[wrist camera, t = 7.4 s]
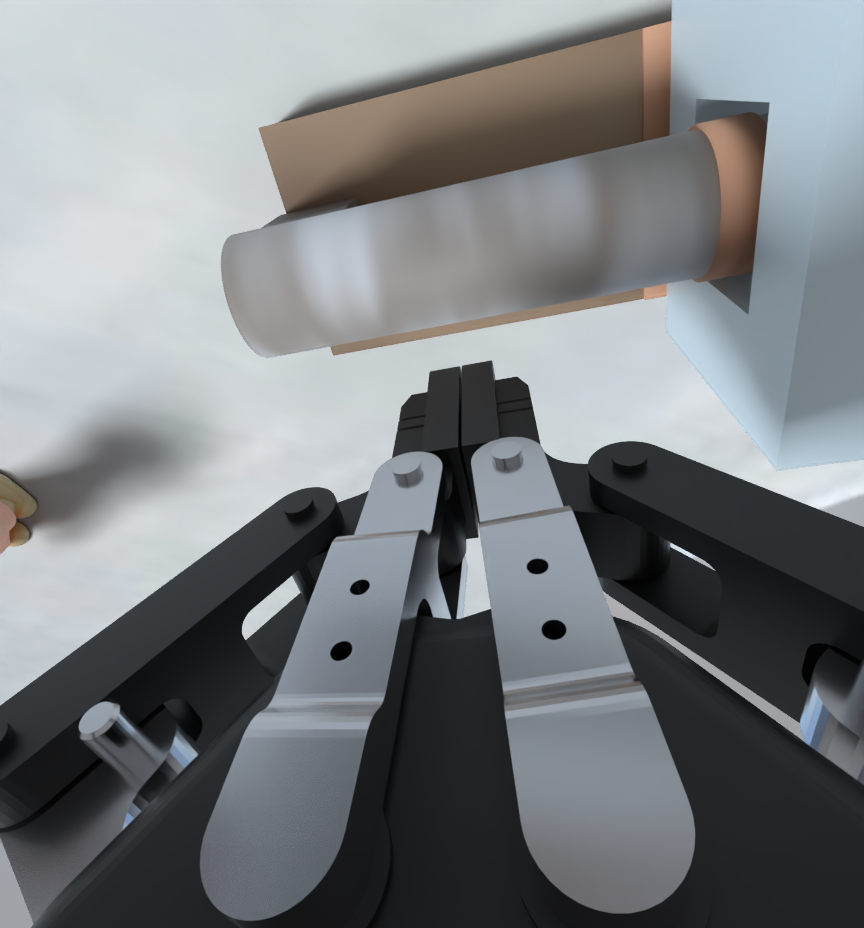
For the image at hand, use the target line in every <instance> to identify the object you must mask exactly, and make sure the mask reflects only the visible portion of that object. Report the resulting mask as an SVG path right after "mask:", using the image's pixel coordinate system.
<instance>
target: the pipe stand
mask: <svg viewBox="0 0 864 928" xmlns="http://www.w3.org/2000/svg"><path fill="white" fill-rule="evenodd" d="M671 24H672V21H669V22H665V23H661V24H657V25H653V26H650V27H646V28H642V29H638V30H635V31H631V32H627V33H623V34H619V35H615V36H611V37H608V38H604V39H600V40H596V41H592V42H588V43H584V44H581V45H577V46H573V47H569V48H565V49H561V50H557V51H554V52H550V53H546V54H542V55H538V56H534V57H530V58H527V59H523V60H519V61H515V62H511V63H507V64H503V65H500V66H496V67H492V68H488V69H484V70H480V71H476V72H473V73H469V74H465V75H461V76H457V77H453V78H449V79H446V80H442V81H438V82H434V83H430V84H426V85H423V86H419V87H415V88H411V89H407V90H403V91H399V92H396V93H392V94H388V95H384V96H380V97H376V98H372V99H369V100H365V101H361V102H357V103H353V104H349V105H345V106H342V107H338V108H334V109H330V110H326V111H322V112H318V113H315V114H311V115H307V116H303V117H299V118H295V119H291V120H288V121H284V122H280V123H276V124H272V125H268V126H264V127H261V128H259V131H260V134H261V137H262V140H263V143H264V146H265V149H266V152H267V155H268V159H269V162H270V165H271V168H272V171H273V174H274V177H275V180H276V183H277V186H278V189H279V192H280V195H281V198H282V201H283V204H284V207H285V210H286V213H287V214H284V215H280V216H279V217H277V218H276V219H274V220H273V221H271V222H270V223H268V224H267V225H265V226H264V227H262V228H261V229H256V230H252V231H247V232H243V233H239V234H234V235H231V236H229V237H228V238H227V240H226V241H225V243H224V246H223V249H222V255H221V273H222V281H223V287H224V292H225V296H226V300H227V303H228V306H229V309H230V312H231V315H232V317H233V320H234V322H235V324H236V326H237V328H238V330H239V332H240V334H241V335H242V337H243V339H244V340H245V342H246V343H247V344H248V346H249V347H250V348H251V349H252V350H253V351H254V352H255V353H256V354H258V355H259V356H261V357H264V358H270V357H276V356H281V355H286V354H292V353H297V352H303V351H308V350H313V349H319V348H324V347H329V346H330V347H331V350H332V353H333V355H338V354H344V353H349V352H355V351H360V350H366V349H371V348H377V347H382V346H388V345H393V344H399V343H404V342H410V341H415V340H421V339H426V338H431V337H437V336H442V335H448V334H453V333H459V332H464V331H470V330H475V329H481V328H486V327H492V326H497V325H503V324H508V323H514V322H519V321H525V320H530V319H535V318H541V317H546V316H552V315H557V314H563V313H568V312H574V311H579V310H585V309H590V308H596V307H601V306H607V305H612V304H618V303H623V302H629V301H634V300H639V299H644V300H647V299H652V298H658V297H663V296H667V284H669V283H674V282H679V281H685V280H690V279H692V280H694V281H695V282H705V281H710V280H715V279H721V278H726V277H732V276H737V275H742V274H748V273H751V272H753V265H754V255H755V245H756V235H757V225H758V215H759V205H760V195H761V185H762V175H763V165H764V155H765V145H766V135H767V125H768V115H769V113H767V114H762V115H758V114H756V113H753V112H747V113H742V114H738V115H733V116H729V117H725V118H720V119H716V120H712V121H707V122H703V123H699V124H695V125H693V126H692V127H691V128H689V130H688V131H687V132H683V133H679V134H674V135H670V80H671Z"/></svg>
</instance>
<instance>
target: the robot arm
mask: <svg viewBox="0 0 864 928" xmlns="http://www.w3.org/2000/svg"><path fill="white" fill-rule="evenodd" d="M399 420H400V421H399V423H398V431H397V434H396V440H395V445H394V451H393V456H392V459H390V460H388V461H386V462H385V463H384V464H382V465H381V466H380V467H379V468H378V470H377V471H376V473H375V475H374V477H373V480H372V483H371V486H370V489H369V491H367V492H365V493H363V494H360V495H358V496H355V497H353V498H350V499H347V500H344V501H341V502H339V503H337V500H336V498H335V496H334V494H333V493H332V492H331V491H330V490H328V489H325V488H320V487H312V488H305V489H301V490H298V491H295V492H293V493H291V494H289V495H287V496H285V497H283V498H282V499H280V500H279V501H278V502H276V503H275V504H274V505H272V506H271V507H269V508H268V509H267V510H265V511H264V512H263V513H261V514H260V515H259V516H257V517H256V518H255V519H253V520H252V521H250V522H249V523H248V524H246V525H245V526H244V527H242V528H241V529H240V530H238V531H237V532H235V533H234V534H233V535H231V536H230V537H229V538H227V539H226V540H225V541H223V542H222V543H221V544H219V545H218V546H216V547H215V548H214V549H212V550H211V551H210V552H208V553H207V554H206V555H204V556H203V557H202V558H200V559H199V560H197V561H196V562H195V563H193V564H192V565H191V566H189V567H188V568H187V569H185V570H184V571H183V572H181V573H180V574H178V575H177V576H176V577H174V578H173V579H172V580H170V581H169V582H168V583H166V584H165V585H163V586H162V587H161V588H159V589H158V590H157V591H155V592H154V593H153V594H151V595H150V596H149V597H147V598H146V599H144V600H143V601H142V602H140V603H139V604H138V605H136V606H135V607H134V608H132V609H131V610H130V611H128V612H127V613H125V614H124V615H123V616H121V617H120V618H119V619H117V620H116V621H115V622H113V623H112V624H111V625H109V626H108V627H106V628H105V629H104V630H102V631H101V632H100V633H98V634H97V635H96V636H94V637H93V638H91V639H90V640H89V641H87V642H86V643H85V644H83V645H82V646H81V647H79V648H78V649H77V650H75V651H74V652H72V653H71V654H70V655H68V656H67V657H66V658H64V659H63V660H62V661H60V662H59V663H58V664H56V665H55V666H53V667H52V668H51V669H49V670H48V671H47V672H45V673H44V674H43V675H41V676H40V677H39V678H37V679H36V680H34V681H33V682H32V683H30V684H29V685H28V686H26V687H25V688H24V689H22V690H21V691H19V692H18V693H17V694H15V695H14V696H13V697H11V698H10V699H9V700H7V701H6V702H5V703H3V704H2V705H0V842H1V843H2V844H3V846H4V849H5V851H6V854H7V856H8V859H9V861H10V864H11V867H12V869H13V872H14V874H15V877H16V880H17V882H18V884H19V887H20V890H21V893H22V895H23V898H24V900H25V903H26V905H27V908H28V911H29V913H30V916H31V918H32V921H33V923H34V925H33V926H32V927H31V928H864V527H862V526H859V525H857V524H854V523H852V522H849V521H847V520H844V519H842V518H839V517H837V516H834V515H831V514H829V513H826V512H824V511H821V510H819V509H816V508H814V507H811V506H808V505H806V504H803V503H801V502H798V501H796V500H793V499H791V498H788V497H785V496H783V495H780V494H778V493H775V492H773V491H770V490H768V489H765V488H762V487H760V486H757V485H755V484H752V483H750V482H747V481H745V480H742V479H739V478H737V477H734V476H732V475H729V474H727V473H724V472H722V471H719V470H716V469H714V468H711V467H709V466H706V465H704V464H701V463H699V462H696V461H693V460H691V459H688V458H686V457H683V456H681V455H678V454H676V453H673V452H670V451H668V450H665V449H663V448H660V447H658V446H655V445H652V444H649V443H644V442H636V441H627V442H619V443H614V444H610V445H607V446H605V447H603V448H601V449H599V450H597V451H596V452H595V453H594V454H593V455H592V456H591V457H590V459H589V462H588V464H575V463H568V462H563V461H560V460H557V459H554V458H552V457H551V456H549V455H548V454H546V453H545V452H544V450H543V448H542V447H541V445H540V440H539V435H538V430H537V426H536V421H535V416H534V411H533V406H532V402H531V397H530V392H529V387H528V385H527V384H526V383H524V382H523V381H522V380H521V379H519V378H518V377H512V378H507V379H501V380H495V374H494V368H493V363H492V361H486V362H481V363H475V364H469V365H464V366H462V371H461V368H460V366H459V367H453V368H447V369H442V370H436V371H431V372H430V374H429V383H428V392H426V393H420V394H414V395H411V397H410V398H409V399H408V400H407V401H406V402H405V404H404V405H403V406H402V407H401V413H400V418H399ZM478 523H479V532H480V538H481V545H482V552H483V559H484V565H485V572H486V579H487V586H488V592H489V599H490V606H491V609H489V610H486V611H483V612H480V613H477V614H474V615H471V616H468V617H465V618H463V615H464V604H465V593H466V582H467V571H468V565H467V561H466V557H465V553H466V539H470V538H478ZM670 542H671V543H673V544H674V545H676V546H678V547H680V548H682V549H684V550H686V551H688V552H690V553H692V554H693V555H695V556H697V557H699V558H701V559H703V560H704V561H706V562H707V563H708V564H710V565H711V566H712V567H713V568H714V569H715V571H714V570H712V569H710V568H709V567H707V566H705V565H703V564H701V563H699V562H697V561H695V560H694V559H692V558H690V557H688V556H686V555H684V554H682V553H681V552H679V551H677V550H675V549H673V548H671V547H670ZM291 576H293V578H294V580H295V582H296V584H297V586H298V588H299V590H300V592H301V593H300V594H298V595H297V596H296V597H295V598H294V599H293V600H292V601H290V602H289V603H288V604H287V605H286V606H285V607H284V608H282V609H281V610H280V611H279V612H278V613H277V614H276V615H274V616H273V617H272V618H271V619H270V620H269V621H268V622H266V623H265V624H264V625H263V626H262V627H261V628H260V629H258V630H257V631H256V632H255V633H254V634H253V635H252V636H250V637H249V638H248V639H247V640H245V639H244V637H243V635H242V624H243V621H244V619H245V617H246V616H247V614H248V613H249V612H250V611H251V610H252V609H253V608H254V607H255V606H256V605H257V604H259V603H260V602H261V601H262V600H263V599H265V598H266V597H267V596H268V595H269V594H271V593H272V592H273V591H274V590H275V589H276V588H278V587H279V586H280V585H281V584H282V583H284V582H285V581H286V580H287V579H288V578H289V577H291ZM603 591H604V592H605V593H607V594H608V595H609V596H611V597H612V598H614V599H615V600H617V601H618V602H620V603H621V604H623V605H624V606H626V607H627V608H629V609H630V610H632V611H633V612H635V613H636V614H638V615H639V616H641V617H642V618H644V619H645V620H647V621H648V622H650V623H651V624H653V625H654V626H656V627H657V628H659V629H660V630H662V631H663V632H665V633H666V634H668V635H669V636H670V637H672V638H673V639H675V640H677V641H678V642H679V643H681V644H682V645H684V646H685V647H687V648H688V649H690V650H691V651H693V652H694V653H696V654H697V655H699V656H701V657H702V658H703V659H705V660H707V661H708V662H710V663H711V664H712V665H714V666H715V667H717V668H718V669H720V670H721V671H723V672H724V673H726V674H727V675H729V676H730V677H732V678H733V679H735V680H736V681H738V682H739V683H741V684H742V685H744V686H745V687H747V688H748V689H750V690H751V691H753V692H754V693H756V694H757V695H759V696H760V697H762V698H763V699H765V700H766V701H768V702H769V703H771V704H772V705H774V706H775V707H777V708H778V709H780V710H781V711H783V712H784V713H785V714H787V715H788V716H790V717H791V718H793V719H795V720H796V721H797V722H799V723H800V727H801V732H802V736H803V738H804V741H805V742H804V741H802V740H801V739H800V738H798V737H797V736H796V735H794V734H793V733H792V732H790V731H789V730H787V729H786V728H785V727H783V726H782V725H781V724H779V723H778V722H776V721H775V720H774V719H772V718H771V717H769V716H768V715H767V714H765V713H764V712H763V711H761V710H760V709H758V708H757V707H756V706H754V705H753V704H752V703H750V702H748V701H747V700H746V699H745V698H743V697H742V696H740V695H739V694H738V693H736V692H735V691H734V690H732V689H731V688H730V687H728V686H727V685H725V684H724V683H723V682H721V681H720V680H719V679H717V678H716V677H714V676H713V675H712V674H710V673H709V672H708V671H706V670H705V669H703V668H702V667H701V666H699V665H698V664H696V663H695V662H694V661H692V660H691V659H689V658H688V657H687V656H685V655H684V654H683V653H681V652H680V651H679V650H677V649H676V648H674V647H673V646H672V645H670V644H669V643H668V642H666V641H665V640H663V639H662V638H660V637H659V636H657V635H655V634H654V633H652V632H650V631H648V630H646V629H645V628H642V627H640V626H638V625H636V624H633V623H631V622H629V621H625V620H622V619H619V618H616V617H613V616H612V615H611V612H610V609H609V606H608V604H607V601H606V598H605V596H604V593H603Z"/></svg>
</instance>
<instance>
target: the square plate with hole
mask: <svg viewBox="0 0 864 928" xmlns="http://www.w3.org/2000/svg"><path fill="white" fill-rule="evenodd" d="M747 112H753V113H756V114H758V115H762V114H767V113H769V115H768V125H767V135H766V145H765V155H764V165H763V175H762V185H761V195H760V205H759V215H758V225H757V235H756V245H755V255H754V265H753V272H751V273H748V274H742V275H737V276H732V277H726V278H721V279H715V280H710V281H705V282H695V281H694V280H692V279H690V280H685V281H679V282H674V283H669V284H667V306H666V333H667V334H668V335H669V336H670V338H671V339H672V340H673V341H674V343H675V344H676V345H677V346H678V348H679V349H680V350H681V351H682V353H683V354H684V355H685V356H686V358H687V359H688V360H689V361H690V363H691V364H692V365H693V366H694V368H695V369H696V370H697V371H698V373H699V374H700V375H701V377H702V378H703V379H704V380H705V382H706V383H707V384H708V385H709V387H710V388H711V389H712V390H713V392H714V393H715V394H716V395H717V397H718V398H719V399H720V400H721V402H722V403H723V404H724V405H725V407H726V408H727V409H728V410H729V412H730V413H731V414H732V415H733V417H734V418H735V419H736V420H737V422H738V423H739V424H740V425H741V427H742V428H743V429H744V430H745V432H746V433H747V434H748V435H749V437H750V438H751V439H752V441H753V442H754V443H755V444H756V446H757V447H758V448H759V449H760V451H761V452H762V453H763V454H764V456H765V457H766V458H767V459H768V461H769V462H770V463H771V464H772V466H773V467H774V468H775V469H776V471H778V470H786V469H794V468H802V467H809V466H817V465H825V464H833V463H840V462H848V461H856V460H864V0H672V24H671V80H670V135H674V134H679V133H683V132H687V131H688V130H689V128H691V127H692V126H693V125H695V124H699V123H703V122H707V121H712V120H716V119H720V118H725V117H729V116H733V115H738V114H742V113H747Z"/></svg>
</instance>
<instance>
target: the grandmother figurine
mask: <svg viewBox="0 0 864 928" xmlns="http://www.w3.org/2000/svg"><path fill="white" fill-rule="evenodd" d="M37 507H38V506H37V503H36V501H35V500H34V498H32V497H31V496H30V495H29V494H28V493H27V492H26V491H24V490H23V489H22V488H21V487H19V486H18V485H17V484H16V483H14V482H13V481H12V480H10V479H9V478H8V477H6V476H4V475H2V474H0V554H1V553H2V552H3V551H4V550H5V549H6V548H7V547H8V546H20V545H22V544H25V543H26V542H27V541H28V539H29V531H28V529H27V528H26V527H25V526H24V525H23V524H21V523H19V522H18V521H16V518H26V517H29V516H31V515H32V514H33V513H35V512H36V510H37Z"/></svg>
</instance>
